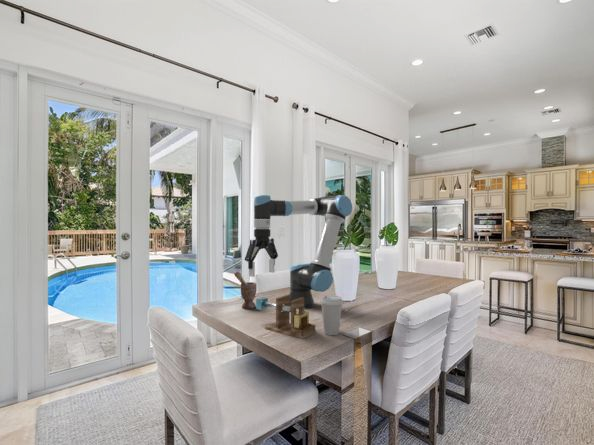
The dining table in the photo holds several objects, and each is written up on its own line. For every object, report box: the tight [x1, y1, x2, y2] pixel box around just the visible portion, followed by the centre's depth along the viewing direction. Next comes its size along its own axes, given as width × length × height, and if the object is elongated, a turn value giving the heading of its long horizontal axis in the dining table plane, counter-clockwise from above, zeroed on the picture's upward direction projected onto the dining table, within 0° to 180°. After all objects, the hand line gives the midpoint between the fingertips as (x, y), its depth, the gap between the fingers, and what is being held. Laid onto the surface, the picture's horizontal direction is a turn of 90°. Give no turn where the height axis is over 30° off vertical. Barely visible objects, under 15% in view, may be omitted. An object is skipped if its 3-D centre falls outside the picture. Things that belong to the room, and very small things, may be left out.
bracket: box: [264, 294, 317, 340], centre depth 135 cm, size 20×10×14 cm, turn 54°
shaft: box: [255, 296, 291, 314], centre depth 140 cm, size 20×5×5 cm, turn 54°
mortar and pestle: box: [234, 271, 257, 310], centre depth 169 cm, size 12×9×20 cm
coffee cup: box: [320, 294, 344, 336], centre depth 132 cm, size 10×10×15 cm
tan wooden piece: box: [294, 310, 310, 330], centre depth 131 cm, size 2×7×7 cm, turn 144°
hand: (262, 274), depth 145 cm, fingers open, 13 cm apart
